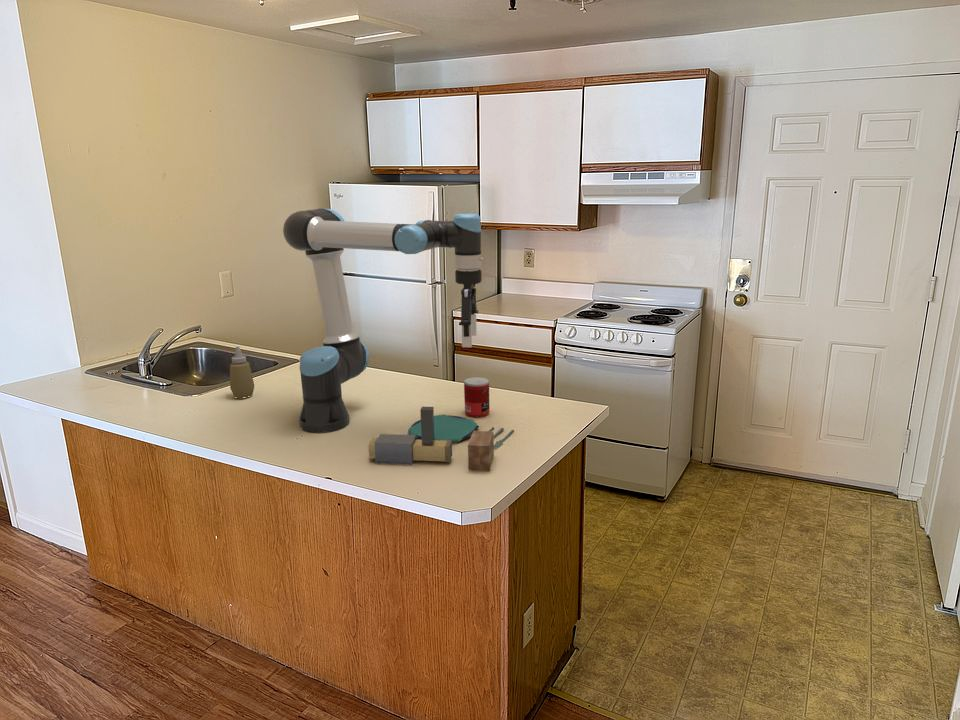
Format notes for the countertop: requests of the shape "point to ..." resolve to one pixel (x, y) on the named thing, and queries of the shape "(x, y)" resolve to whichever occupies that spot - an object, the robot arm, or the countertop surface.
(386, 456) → the sleeve
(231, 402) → the countertop surface
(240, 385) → the squeeze bottle
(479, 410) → the canned food
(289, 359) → the countertop surface
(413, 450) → the gray and tan bar
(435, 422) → the cutlery set
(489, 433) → the socket block
